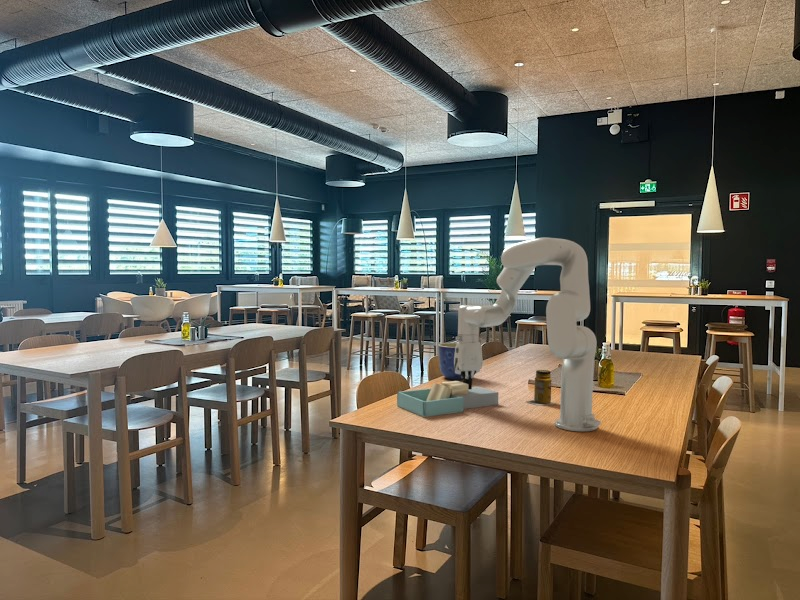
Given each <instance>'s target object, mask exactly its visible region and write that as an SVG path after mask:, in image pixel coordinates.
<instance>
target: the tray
mask: <svg viewBox="0 0 800 600" xmlns="http://www.w3.org/2000/svg"><path fill="white" fill-rule="evenodd" d="M431 388H432V387H431ZM431 388H423V389H414V390H403V391H397V392H396V393H397V395H396V396H397V397H396V406H397V407H398V408H402V409H403V410H406V411H409V412H411V413H413V414H416V415H418V416H420V417H423V418H427V417H436V416H442V415H443V416H444V415H448V414H456V413H463V412H464V409H463V397H457V398H449V399H441V400H433V401H426V400H427V397H428V395H429V393H430V390H431Z"/></svg>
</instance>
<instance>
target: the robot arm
mask: <svg viewBox="0 0 800 600" xmlns="http://www.w3.org/2000/svg"><path fill="white" fill-rule="evenodd" d="M500 261H501V265H502V266H503V269H502V270H501V271H500V273H499V274H498V276H497V278H496V284H497V285H498V286H499V288H500V289H501V292H500V294H499V296H498V297H497V299H496V301H495V302H494V303H493V304H488V305H486V304H485V305H473V304H462V305H459V307H458V313H457V314H458V316H457V320H458V321H457V336H455V341H457V342H455V343H456V348H455V355H454V368H455V373H456V374H460V375H461V377H462V378H463V379H462V382H463V383H466V384H469V386H468V390H469V389H472V387H473V379H474V376H475V374H478V373H480V372H481V370H482V369H483V361H484V360H483V359H484V358H483V351H482V348H483V347H482V345H481V344H482V343H481V342H479V339H480V338H479V337H480V336H479V335H480V334H479V331H480V328H488V327H489V328H490V327H496V326H497V327H498V326H500V325H502V324H503V323H504V322H505V321H506V320H507V319H508V318H509V316H510V315H511V313H512V312H513V311H514V309H515V307H516V305H517V300H518V293H519V291H520V289H521V288H522V287H523V285H524V284H525V283H526V281H527V280H528V279H529V277H530V276H531V274H532V273H533V271H534V270H535V268H536V267H538V266H561V272H560V276H559V284H560V291H558V292H555V293H554V294H552V295H551V297H550V298H549V299H548V301H547V303H546V307H545V308H546V309H545V315H546V317H545V318H546V332H547V344H548V348H549V350H550V351H549V352H550V353H552V355H553V356H555V357H556V358H557V359H560V360H562V363H561V373H560V374H561V375H560V411H559V412H560V414H559V418H557V419H555V421H554V425H555V427H557V428H559V429H561V430H565V431H572V432H584V433H585V432H592V431H595V430H597V429H598V428H599V426H601V423H602V422H601V420H599V419H595V418H596V417H595V416H596V415H595V413H593V392H594V389H593V388H594V386H593V385H594V365H595V358H596V357H595V356H596V351H597V343H598V342H597V336H596V334H595V333H594V332H593V330H591V329H590V328H589V327H587V326H584V325H578V324H577V322H581V321H584V320H585V319H587V318H588V317H589V315H590V312H591V297H590V284H589V261H588V257H587V254H586V251H585V250H584V248H583V247H582V246H581V245H580V244H578V243H576V242H575V241H572V240H570V239H564V238H557V237H547V236H546V237H544V236H543V237H537V238H532V239H529V240H525V241H521V242H520V241H519V242H516V243H512V244H509V245H508V246H507V247H505V248H504V250H503V251H502V252H501V255H500ZM460 370H461V371H460Z"/></svg>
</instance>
